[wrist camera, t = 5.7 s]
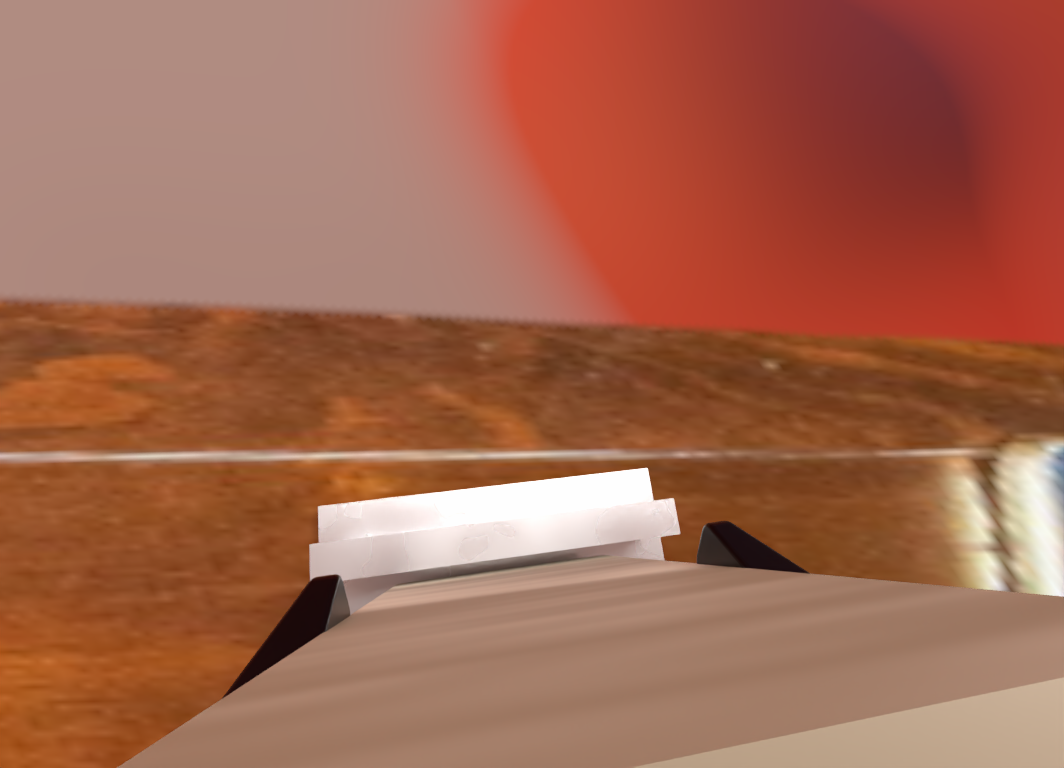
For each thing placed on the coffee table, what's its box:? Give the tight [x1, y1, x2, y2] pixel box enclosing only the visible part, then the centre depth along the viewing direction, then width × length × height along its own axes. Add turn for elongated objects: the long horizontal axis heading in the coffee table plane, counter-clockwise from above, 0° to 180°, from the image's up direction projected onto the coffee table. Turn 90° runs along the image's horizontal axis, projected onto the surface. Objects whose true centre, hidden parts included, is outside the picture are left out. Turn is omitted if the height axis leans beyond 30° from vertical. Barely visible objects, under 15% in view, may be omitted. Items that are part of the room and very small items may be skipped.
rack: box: [310, 468, 680, 615], centre depth 15 cm, size 14×11×4 cm
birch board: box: [118, 555, 1064, 768], centre depth 8 cm, size 2×6×14 cm, turn 98°
